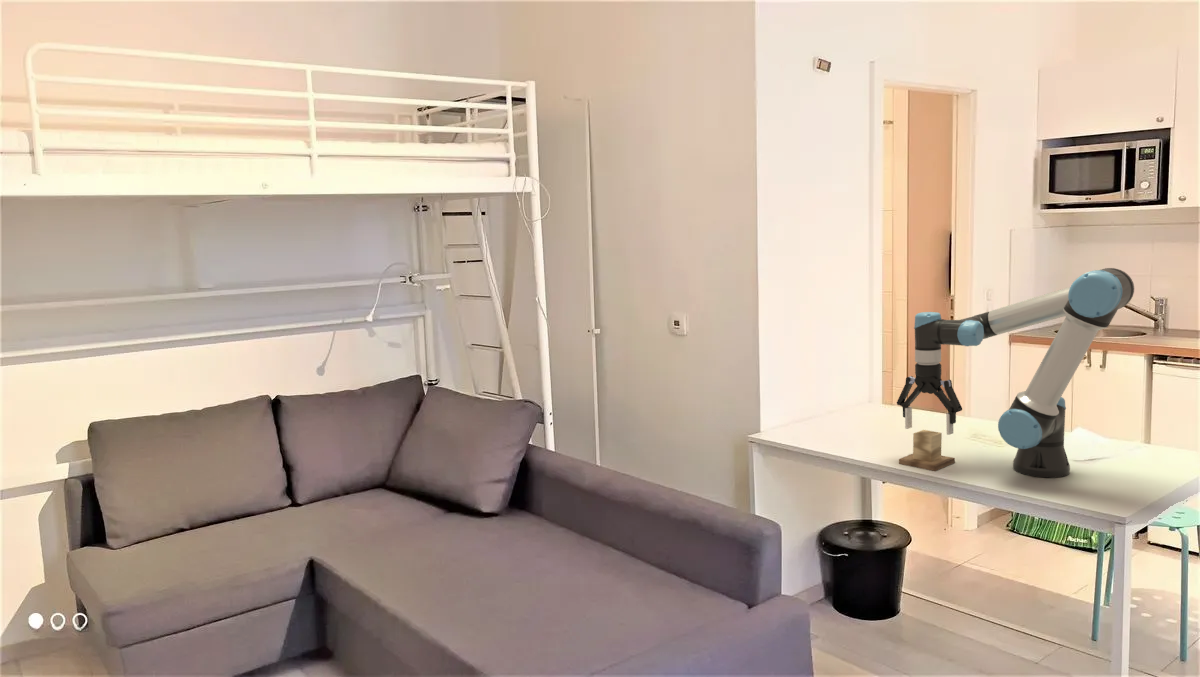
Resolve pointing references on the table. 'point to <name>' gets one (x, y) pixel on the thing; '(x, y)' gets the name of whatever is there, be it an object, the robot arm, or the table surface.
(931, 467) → the walnut board
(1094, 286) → the robot arm
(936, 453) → the oak block
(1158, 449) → the table surface
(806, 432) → the table surface
